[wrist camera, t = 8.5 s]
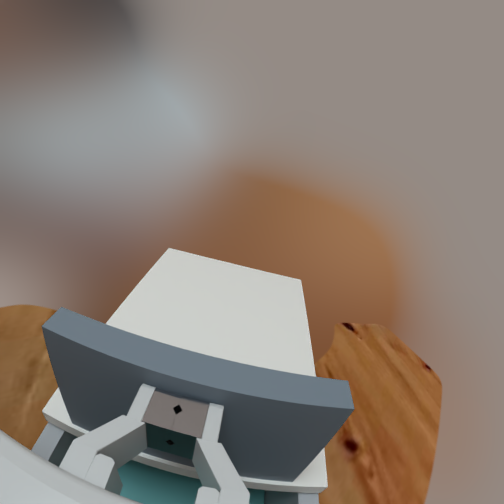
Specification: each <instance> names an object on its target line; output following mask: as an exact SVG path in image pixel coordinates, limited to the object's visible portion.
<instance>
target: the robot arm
mask: <svg viewBox="0 0 504 504" xmlns="http://www.w3.org/2000/svg"><path fill="white" fill-rule="evenodd" d="M208 407H209V408H208ZM223 410H224V406H223V405H218V404H214V403H210V402H207V401H202V400H198V399H194V398H190V397H186V396H181V395H178V394H174V393H171V392H168V391H165V390H162V389H159V388H156V387H153V386H150V385H147V384H144V383H143V384H142V385H141V386H140V388H139V390H138V393H137V395H136V397H135V399H134V401H133V403H132V405H131V407H130V409H129V412H128V414H127V416H125V415H121V416H119V417H118V418H116V419H114V420H112V421H110V422H108V423H106V424H104V425H102V426H100V427H98V428H96V429H94V430H92V431H90V432H88V433H86V434H84V435H82V436H80V437H78V438H76V439H74V440H73V442H72V444H71V445H70V447H69V449H68V451H67V453H66V455H65V457H64V459H63V460H62V462H61V464H60V466H59V467H58V466H56V465H54V464H52V463H51V462H49V461H47V460H45V459H44V458H42V457H40V456H39V455H37V454H35V453H34V452H32V451H31V450H29V449H28V448H26V447H25V446H23V445H22V444H20V443H19V442H17V441H16V440H14V439H13V438H11V437H10V436H9V435H7V434H6V433H4V432H3V431H2V430H0V504H143V503H140V502H137V501H134V500H131V499H128V498H126V497H123V496H120V493H121V490H122V487H123V484H122V482H121V479H120V476H119V473H118V471H117V469H118V468H120V467H121V466H123V465H124V464H126V463H127V462H128V461H130V460H131V459H133V458H134V457H136V456H137V455H138V454H140V453H141V452H142V451H144V450H145V449H147V447H150V448H153V449H156V450H160V451H163V452H167V453H171V454H174V455H177V456H181V457H184V458H188V459H191V460H192V462H193V464H194V467H195V469H196V472H197V474H198V477H199V479H200V481H201V484H202V487H201V488H199V489H198V492H197V495H196V498H195V501H194V504H249V498H250V493H249V491H248V490H247V488H246V486H245V485H244V483H243V481H242V479H241V478H240V476H239V474H238V472H237V471H236V469H235V467H234V465H233V464H232V462H231V460H230V458H229V456H228V454H227V453H226V451H225V449H224V447H223V445H222V443H218V438H219V432H220V427H221V421H222V416H223ZM205 420H206V421H205Z"/></svg>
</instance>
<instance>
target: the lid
mask: <svg viewBox="0 0 504 504" xmlns="http://www.w3.org/2000/svg"><path fill="white" fill-rule="evenodd" d="M42 330H43V334H44V338H45V342H46V346H47V350H48V354H49V358H50V361H51V365H52V368H53V371H54V375H55V378H56V381H57V384H58V389H57V390H56V391H55V393H54V394H53V396H52V397H51V399H50V400H49V402H48V403H47V405H46V406H45V407H44V409H43V410H42V413H43V415H44V417H45V419H46V421H48V422H50V423H52V424H53V425H55V426H57V427H59V428H61V429H63V430H65V431H67V432H69V433H71V434H73V435H75V436H77V437H80V436H82V435H84V434H86V433H88V432H90V431H92V430H94V429H96V428H98V427H100V426H102V425H104V424H106V423H108V422H110V421H112V420H114V419H116V418H118V417H119V416H121V415H125V416H127V414H128V412H129V409H130V407H131V405H132V403H133V401H134V399H135V397H136V395H137V393H138V390H139V388H140V386H141V385H142V384H143V383H144V384H147V385H150V386H153V387H156V388H159V389H162V390H165V391H168V392H171V393H174V394H178V395H181V396H186V397H190V398H194V399H198V400H202V401H207V402H210V403H214V404H218V405H223V406H224V410H223V416H222V421H221V427H220V432H219V438H218V443H222V445H223V447H224V449H225V451H226V453H227V454H228V456H229V458H230V460H231V462H232V464H233V465H234V467H235V469H236V471H237V472H238V474H239V476H240V478H241V479H242V481H243V483H244V485H245V486H246V488H252V489H260V490H270V491H282V492H299V493H321V492H322V491H323V490H325V489H326V488H327V487H328V485H327V473H326V462H325V452H324V447H325V446H326V445H327V443H328V442H329V441H330V440H331V439H332V437H333V436H334V435H335V434H336V432H337V431H338V430H339V429H340V427H341V426H342V425H343V424H344V422H345V421H346V420H347V418H348V417H349V416H350V414H351V413H352V412H353V410H354V405H353V400H352V396H351V392H350V388H349V383H348V381H344V380H336V379H328V378H321V377H316V375H315V368H314V361H313V354H312V347H311V340H310V333H309V327H308V320H307V314H306V308H305V302H304V296H303V290H302V284H301V280H299V279H294V278H290V277H286V276H282V275H277V274H273V273H269V272H265V271H261V270H257V269H252V268H248V267H244V266H240V265H236V264H232V263H228V262H223V261H219V260H215V259H211V258H207V257H203V256H198V255H195V254H191V253H187V252H183V251H178V250H174V249H171V248H169V249H168V250H167V251H166V252H165V253H164V255H163V256H162V257H161V258H160V259H159V260H158V261H157V263H156V264H155V265H154V266H153V267H152V268H151V269H150V271H149V272H148V273H147V274H146V275H145V277H144V278H143V279H142V280H141V281H140V282H139V284H138V285H137V286H136V287H135V288H134V290H133V291H132V292H131V293H130V294H129V296H128V297H127V298H126V299H125V300H124V302H123V303H122V304H121V305H120V307H119V308H118V309H117V310H116V312H115V313H114V314H113V315H112V317H111V318H110V319H109V320H108V322H107V323H106V324H104V323H101V322H99V321H96V320H93V319H91V318H88V317H85V316H83V315H80V314H78V313H75V312H73V311H70V310H68V309H65V308H63V307H61V308H60V309H59V310H58V311H57V312H56V313H55V314H54V315H53V316H52V317H51V318H50V319H49V320H48V321H47V322H46V323H45V324H44V325H43V326H42ZM208 408H209V407H208ZM205 421H206V420H205ZM131 460H134V461H137V462H140V463H143V464H146V465H149V466H152V467H155V468H158V469H162V470H165V471H169V472H172V473H176V474H180V475H183V476H187V477H192V478H196V479H199V477H198V474H197V472H196V469H195V467H194V464H193V462H192V460H191V459H188V458H184V457H181V456H177V455H174V454H171V453H167V452H163V451H160V450H156V449H153V448H150V447H147V449H145V450H144V451H142V452H141V453H140V454H138V455H137V456H136V457H134V458H133V459H131Z"/></svg>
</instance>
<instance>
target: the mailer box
mask: <svg viewBox="0 0 504 504" xmlns="http://www.w3.org/2000/svg"><path fill="white" fill-rule="evenodd" d="M76 438H78V437H77V436H75V435H73V434H71V433H69V432H67V431H65V430H63V429H61V428H59V427H57V426H55V425H53V424H52V423H50V422H48V424H47V425H46V427H45V429H44V430H43V432H42V433H41V435H40V437H39V438H38V440H37V442H36V443H35V445H34V447H33V448H32V450H31V451H32V452H34V453H35V454H37V455H39V456H40V457H42V458H44V459H45V460H47V461H49V462H51V463H52V464H54V465H56V466H58V467H59V466H60V464H61V462H62V460H63V459H64V457H65V455H66V453H67V451H68V449H69V447H70V445H71V444H72V442H73V440H74V439H76ZM117 471H118V473H119V476H120V479H121V482H122V484H123V487H122V490H121V493H120V496H123V497H126V498H128V499H131V500H134V501H137V502H140V503H143V504H194V501H195V498H196V495H197V492H198V489H199V488H201V487H202V484H201V481H200V479H196V478H192V477H187V476H183V475H180V474H176V473H172V472H169V471H165V470H162V469H158V468H155V467H152V466H149V465H146V464H143V463H140V462H137V461H134V460H130V461H128V462H127V463H126V464H124V465H123V466H121V467H120V468H118V469H117ZM247 490H248V491H249V493H250V498H249V504H319V499H318V493H299V492H282V491H270V490H260V489H252V488H247Z"/></svg>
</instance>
